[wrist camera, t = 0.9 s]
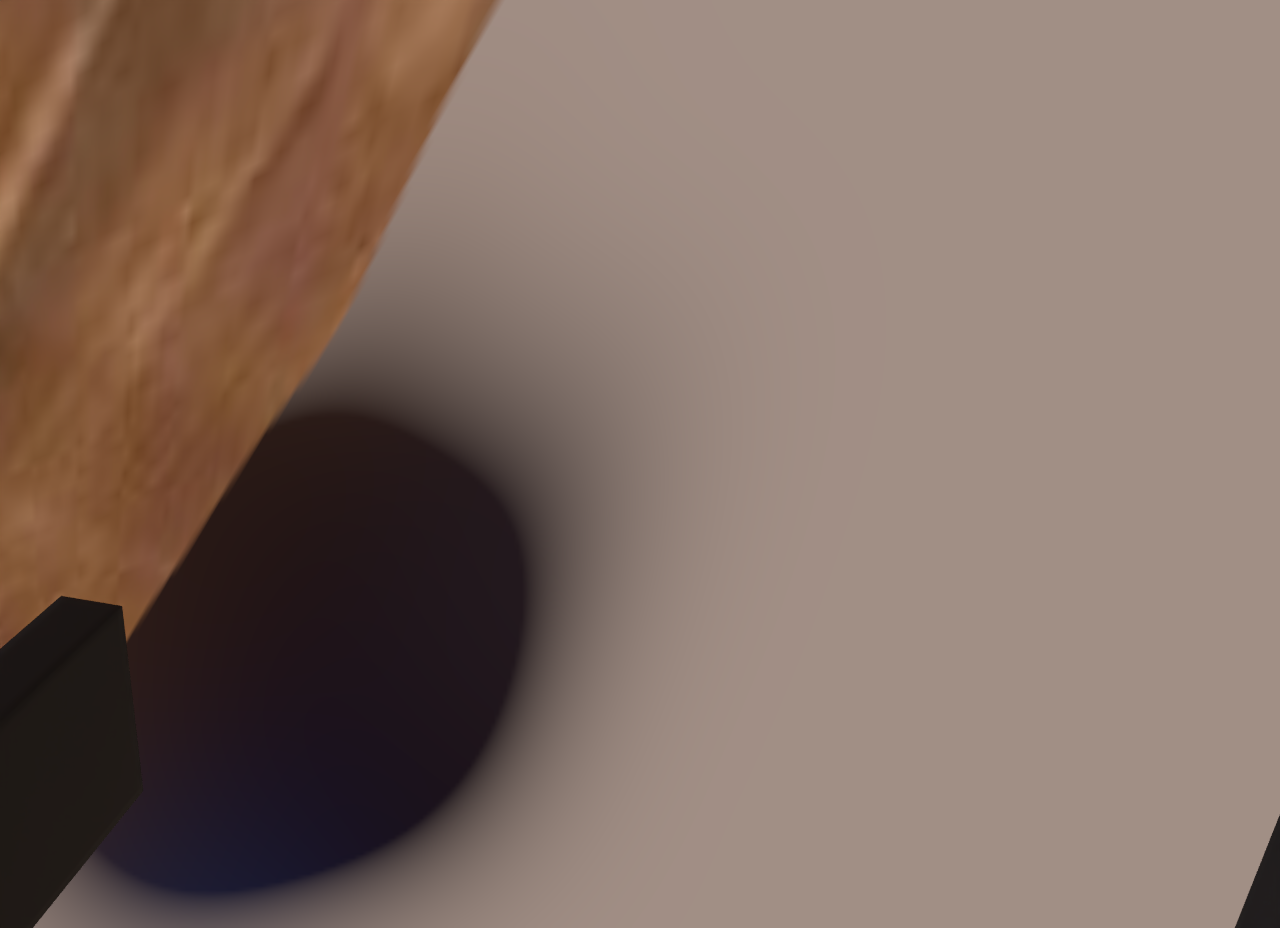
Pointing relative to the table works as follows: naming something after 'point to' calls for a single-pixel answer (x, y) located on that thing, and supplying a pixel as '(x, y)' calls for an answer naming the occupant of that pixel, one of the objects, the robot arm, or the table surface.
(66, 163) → the table surface
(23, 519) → the table surface
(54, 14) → the table surface
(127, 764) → the robot arm
